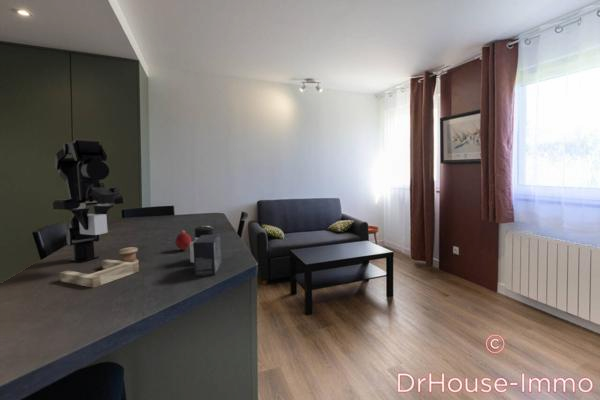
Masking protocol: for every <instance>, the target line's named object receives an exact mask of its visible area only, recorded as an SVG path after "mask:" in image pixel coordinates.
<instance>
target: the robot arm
mask: <svg viewBox="0 0 600 400" xmlns="http://www.w3.org/2000/svg"><path fill="white" fill-rule="evenodd" d="M67 155H72V156H70V157H68V156H67ZM107 158H108V156H107V153H106V151H105V149H104V147H103V145H102V144H100V141H99V140H96V139H95V140H93V139H92V140H91V139H80V138H79V139H77V138H76V139H73V140H72V141H71V142H64V143H63V144H62V149H60V150H59V151H57V153H56V154H55V159H54V167H55V170H57V172H58V176H59V178H61V179H62V180H64V181H65V183H66V184H65V185H66V188H67V194H68V198H61V199H54V201H53V203H52V209H53V210H62V211H63V210H67V211H68V212H71V214H72V218H71V220H70V223H69V224H68V228H67V233H66V238H65V239H66V244H67V245H68V246H69V247H70V246H72V250H73V251H72V253H73V258H70V259H68V261H70V262H75V263H84V262H86V261H88V262H89V261H90V260H94V259H99V257H100V256H99V255H96V254H95V246H94V245H95V244H94V243H95V242H99V241H100V234H99V235H87V234H80V227H79V222H80V223H81V225H82V226H83V228H84V229H85V230H88V216H87V214H89V212H90V208H89V207H88V208H87V206H91V205H93V209H94V214H106V215H107V213H108V212H109V210H110V209H111V208H114V204H115V205H122V204H124V203H125V201H124V197H123V196H122V195H121V194H120V189H119V187H110V188H106V187H105V184H104V182H101V181H102V180H105V179H106V178H107V177H108V176H109V174H110V168H109V165H107V164H106V162H107ZM112 204H113V205H112Z"/></svg>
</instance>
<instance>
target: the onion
mask: <svg viewBox="0 0 600 400" xmlns="http://www.w3.org/2000/svg"><path fill="white" fill-rule="evenodd" d="M190 242H192V238H191V236H190V235H189V234H188V233H186V230H181V232H180V233H179V234H177V236H176V239H175V245H176V247H177V248H178V249H180V250H182V251H186V250H187V249H188V248H190Z"/></svg>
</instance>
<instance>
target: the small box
mask: <svg viewBox="0 0 600 400" xmlns="http://www.w3.org/2000/svg"><path fill="white" fill-rule="evenodd" d="M195 240H196V239H195ZM195 240H194V241H195ZM192 242H193V241H192ZM221 245H222V243H221V234H219V233H218V234H216V233H215V234H213V235H201V236H200V237H199V238H198V239H197V240H196V241H195V242H193V249H194V263H193V264H194V277H206V276H207V277H210V275H213V276H216V275H217V273H218V271H219V270H220V268H221V266H222V264H223V262H222V248H221Z"/></svg>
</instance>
